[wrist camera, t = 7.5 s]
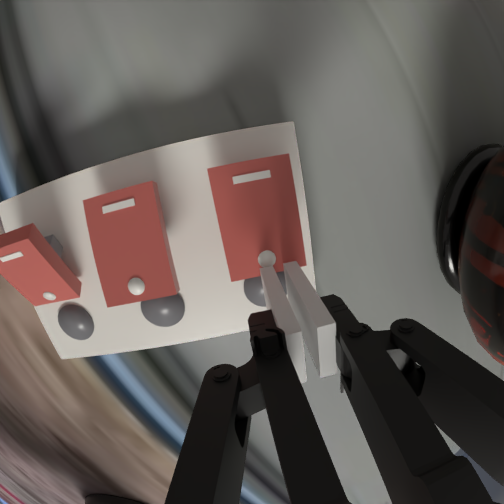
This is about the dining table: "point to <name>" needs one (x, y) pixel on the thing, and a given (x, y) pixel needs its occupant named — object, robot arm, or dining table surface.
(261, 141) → the power strip
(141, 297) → the rocker
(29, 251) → the rocker
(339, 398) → the dining table surface
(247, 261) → the rocker
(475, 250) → the amphora vase
